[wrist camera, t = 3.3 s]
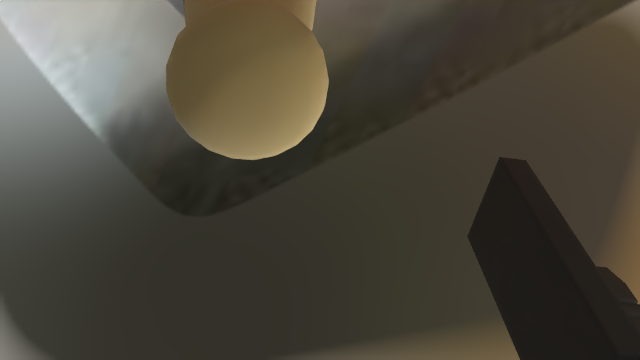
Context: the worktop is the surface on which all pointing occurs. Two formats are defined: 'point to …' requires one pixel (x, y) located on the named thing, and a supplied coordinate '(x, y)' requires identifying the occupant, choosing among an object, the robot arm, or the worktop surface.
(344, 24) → the worktop surface
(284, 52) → the cork
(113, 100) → the worktop surface
